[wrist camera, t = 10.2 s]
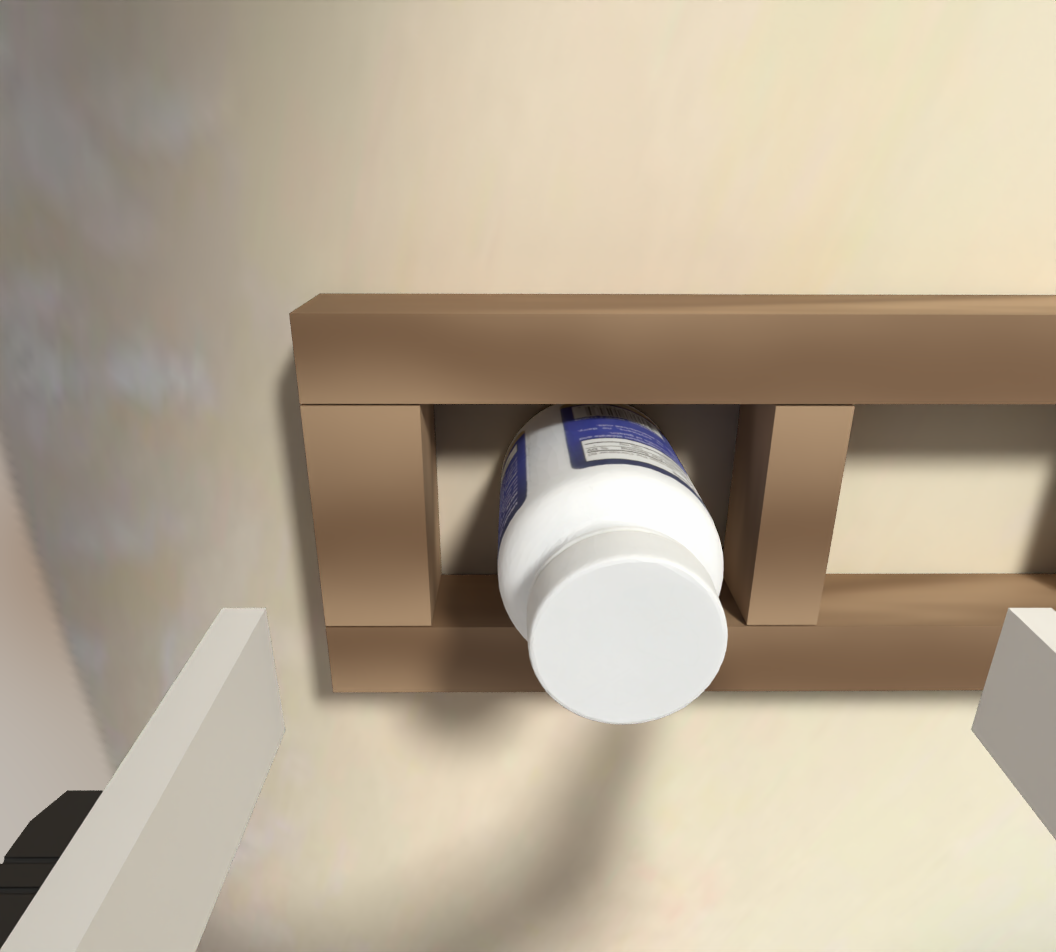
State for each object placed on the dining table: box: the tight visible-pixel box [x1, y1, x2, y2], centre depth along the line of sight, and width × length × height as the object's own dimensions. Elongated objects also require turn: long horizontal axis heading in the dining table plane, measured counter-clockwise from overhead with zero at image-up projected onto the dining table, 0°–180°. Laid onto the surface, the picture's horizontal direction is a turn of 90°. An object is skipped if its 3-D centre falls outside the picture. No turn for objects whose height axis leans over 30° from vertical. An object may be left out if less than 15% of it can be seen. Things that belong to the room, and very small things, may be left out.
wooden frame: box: [289, 294, 1056, 692], centre depth 22 cm, size 11×26×3 cm, turn 90°
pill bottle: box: [497, 404, 728, 724], centre depth 19 cm, size 5×5×9 cm
